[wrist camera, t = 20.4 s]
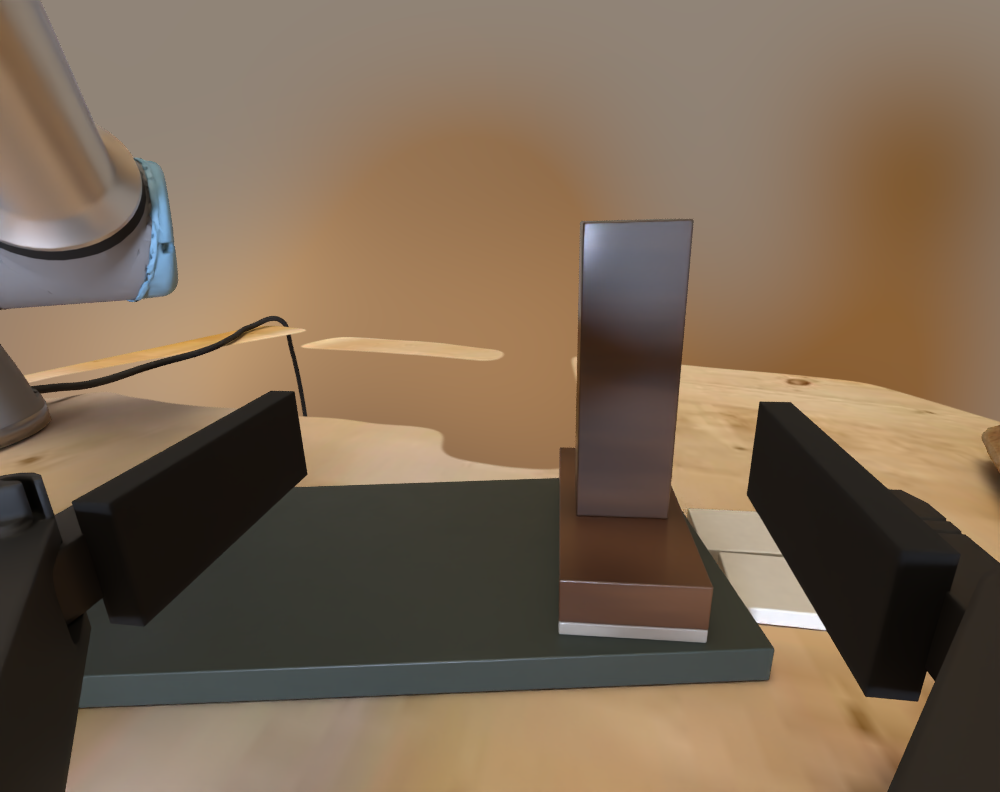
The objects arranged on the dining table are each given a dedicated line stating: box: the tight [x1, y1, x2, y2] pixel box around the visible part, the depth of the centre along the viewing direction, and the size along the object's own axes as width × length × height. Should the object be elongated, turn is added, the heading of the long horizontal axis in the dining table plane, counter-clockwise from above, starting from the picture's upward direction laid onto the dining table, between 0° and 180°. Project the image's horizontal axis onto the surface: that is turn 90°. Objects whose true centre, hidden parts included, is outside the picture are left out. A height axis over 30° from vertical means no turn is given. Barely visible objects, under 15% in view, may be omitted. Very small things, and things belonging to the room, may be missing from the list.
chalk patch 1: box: [687, 508, 783, 563], centre depth 28 cm, size 4×4×1 cm
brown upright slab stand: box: [558, 219, 713, 643], centre depth 23 cm, size 12×6×15 cm, turn 174°
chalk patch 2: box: [718, 552, 826, 630], centre depth 24 cm, size 4×4×1 cm
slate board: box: [79, 478, 774, 708], centre depth 26 cm, size 14×34×2 cm, turn 92°
